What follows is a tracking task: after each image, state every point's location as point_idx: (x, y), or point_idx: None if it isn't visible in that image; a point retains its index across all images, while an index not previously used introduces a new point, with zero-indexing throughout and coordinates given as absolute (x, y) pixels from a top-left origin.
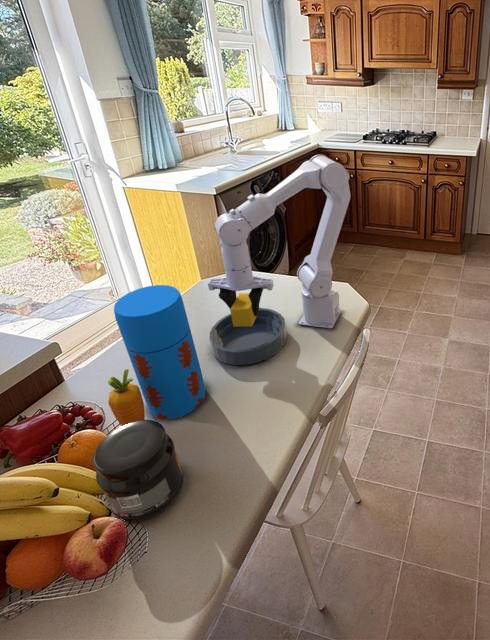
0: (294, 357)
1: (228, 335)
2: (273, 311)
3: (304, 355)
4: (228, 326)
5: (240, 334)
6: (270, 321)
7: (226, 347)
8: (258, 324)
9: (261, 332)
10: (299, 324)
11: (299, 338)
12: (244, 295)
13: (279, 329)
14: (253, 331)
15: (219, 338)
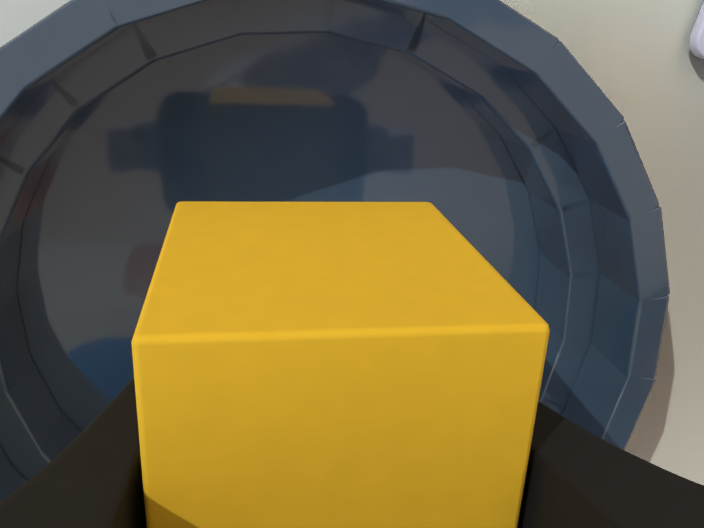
0: (632, 435)
1: (55, 232)
2: (538, 53)
3: (696, 415)
4: (19, 193)
5: (171, 217)
6: (453, 81)
7: (113, 389)
8: (307, 53)
9: (366, 190)
10: (694, 54)
11: (675, 240)
12: (293, 421)
13: (569, 259)
14: (286, 173)
15: (9, 353)
